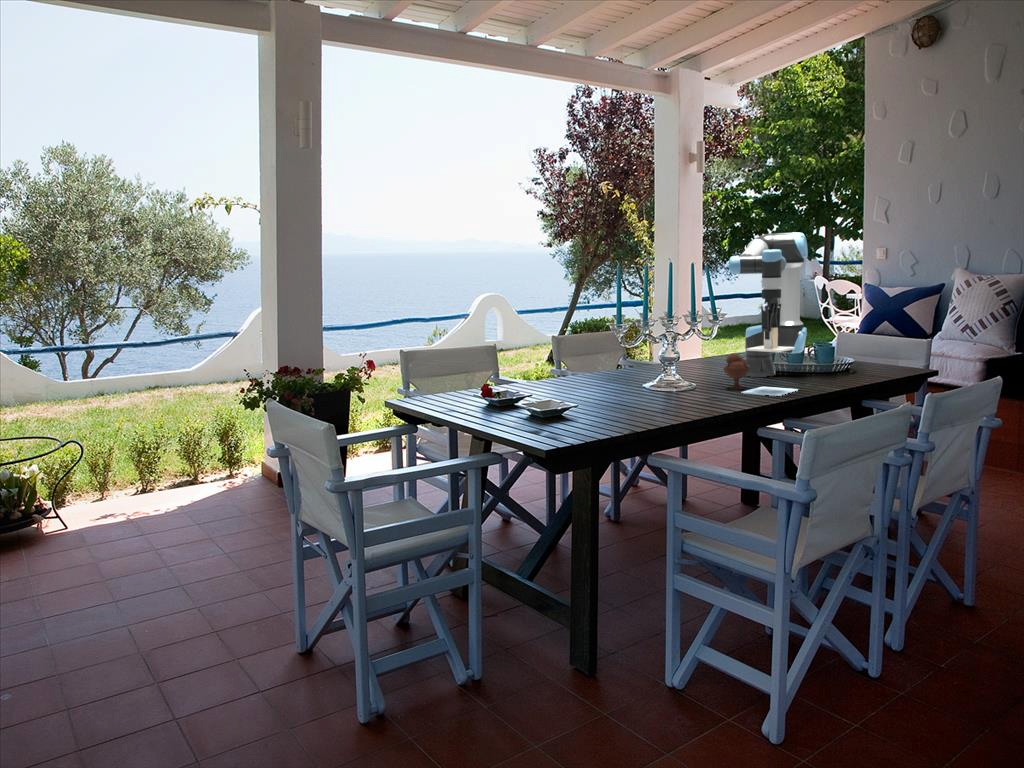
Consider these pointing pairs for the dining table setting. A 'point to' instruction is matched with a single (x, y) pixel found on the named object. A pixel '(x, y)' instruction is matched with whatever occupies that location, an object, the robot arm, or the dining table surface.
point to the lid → (774, 344)
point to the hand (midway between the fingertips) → (770, 347)
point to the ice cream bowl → (736, 369)
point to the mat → (770, 391)
